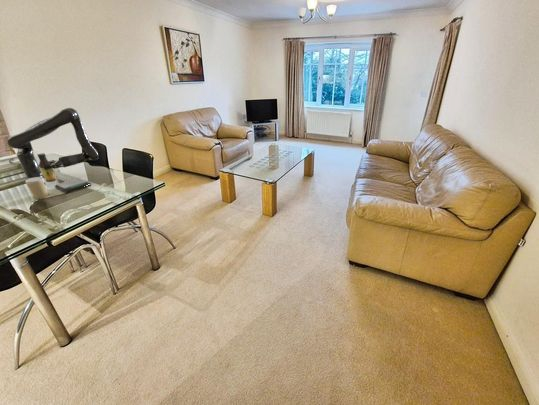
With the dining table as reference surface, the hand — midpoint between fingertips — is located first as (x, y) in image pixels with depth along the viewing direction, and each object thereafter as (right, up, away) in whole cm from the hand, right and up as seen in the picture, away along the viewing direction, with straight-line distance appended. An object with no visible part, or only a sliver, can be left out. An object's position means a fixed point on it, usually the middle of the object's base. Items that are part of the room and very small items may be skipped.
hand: (41, 167), depth 173 cm
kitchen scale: (+16, -13, +9) cm, 22 cm away
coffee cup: (+4, -20, -5) cm, 21 cm away
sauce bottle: (+1, -9, +7) cm, 11 cm away
